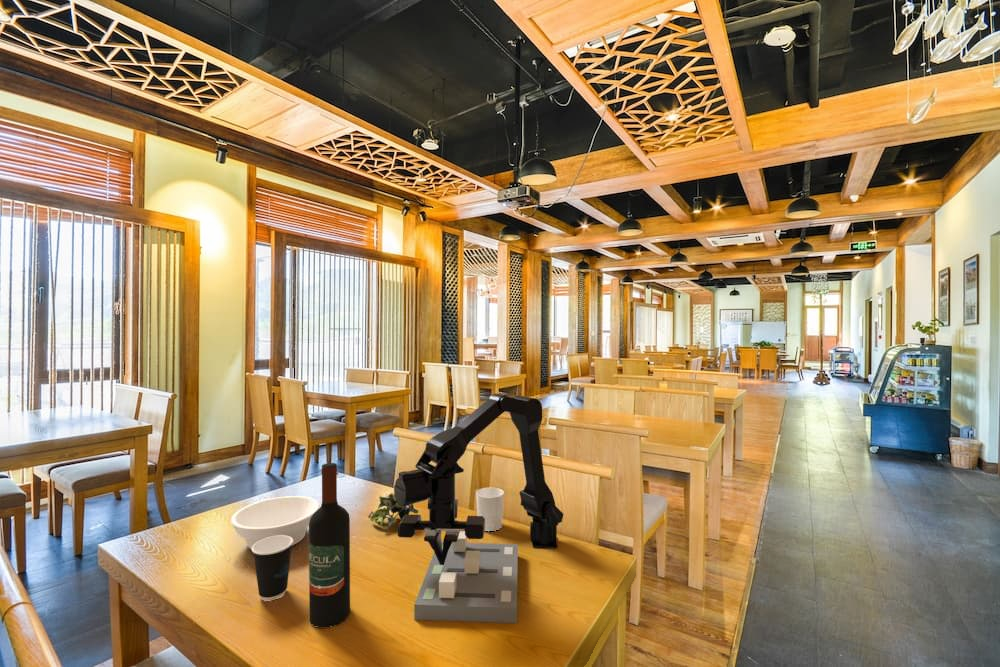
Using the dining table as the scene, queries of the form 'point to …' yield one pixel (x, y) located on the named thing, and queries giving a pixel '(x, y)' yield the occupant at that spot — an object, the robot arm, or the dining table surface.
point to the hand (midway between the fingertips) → (442, 564)
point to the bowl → (275, 518)
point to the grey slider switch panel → (473, 587)
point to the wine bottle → (329, 556)
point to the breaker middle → (472, 561)
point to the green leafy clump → (392, 506)
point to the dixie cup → (272, 565)
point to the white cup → (490, 507)
